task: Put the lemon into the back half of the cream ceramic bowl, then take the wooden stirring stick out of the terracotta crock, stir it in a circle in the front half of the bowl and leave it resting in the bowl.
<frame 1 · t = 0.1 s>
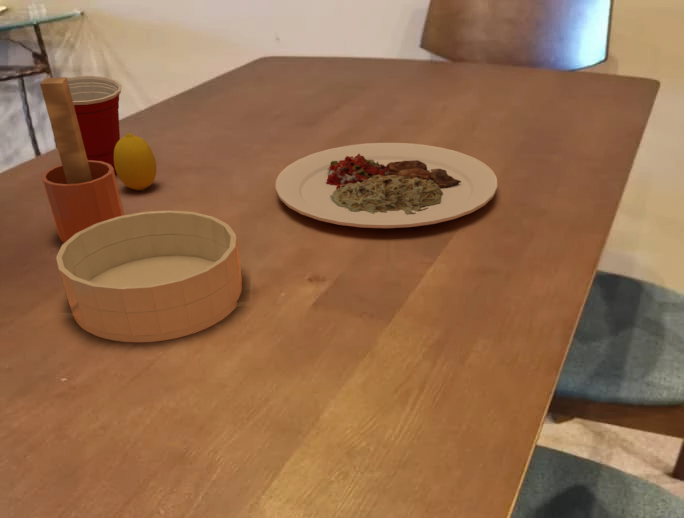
lemon: (141, 194, 102), on the table
wooden stirring stick: (93, 232, 91), point 1 cm above the table, touching crock
bowl: (158, 297, 79), on the table
plastic cup: (102, 173, 108), on the table
plated food: (385, 194, 100), on the table
crock: (94, 236, 91), on the table
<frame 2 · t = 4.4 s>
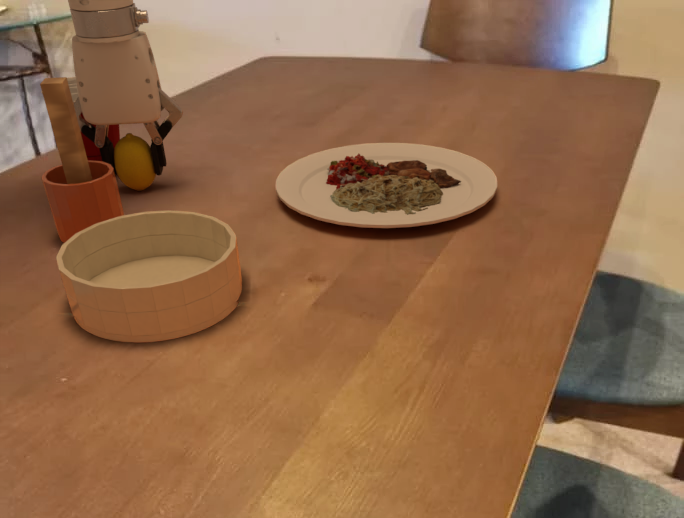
hand: (136, 171, 100), 3 cm above the table, tool pointing down, fingers closed on lemon, 5 cm apart
lemon: (141, 194, 102), on the table, touching gripper
everything else where it was.
when the fingers open (4 cm above the table, at t = 13.8 s): lemon stays where it is, resting on bowl.
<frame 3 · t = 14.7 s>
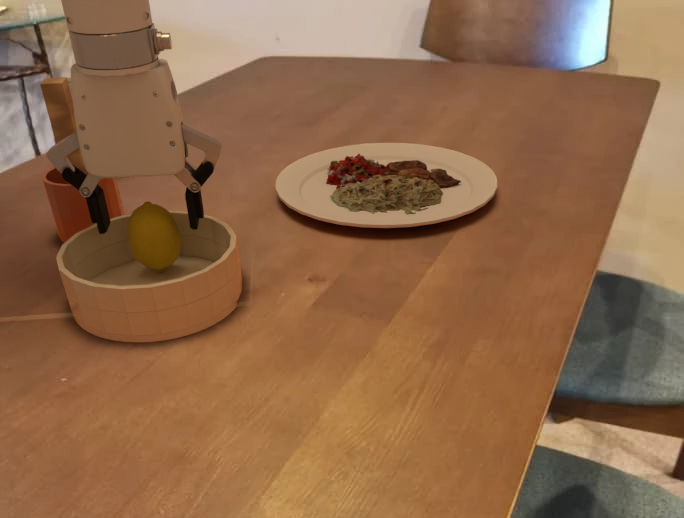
hand: (150, 226, 78), 6 cm above the table, tool pointing down, fingers open, 9 cm apart
lemon: (161, 273, 82), point 1 cm above the table, touching bowl
everything else where it was.
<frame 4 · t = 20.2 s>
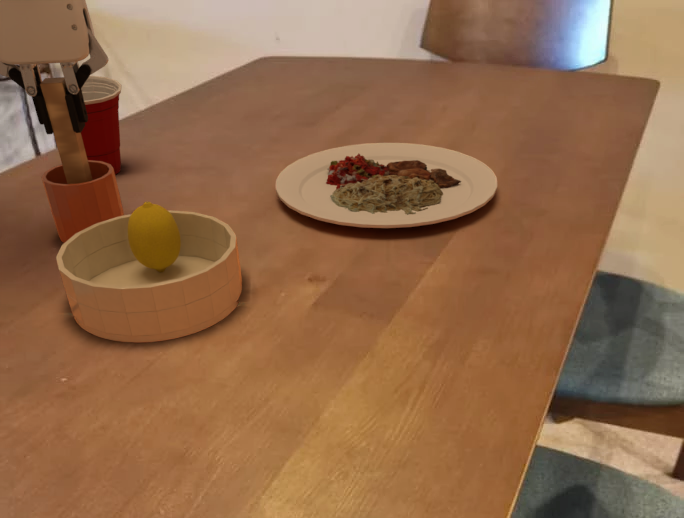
hand: (66, 128, 83), 13 cm above the table, tool pointing down, fingers closed on wooden stirring stick, 2 cm apart
wooden stirring stick: (93, 232, 91), point 1 cm above the table, touching crock, gripper
everything else where it was.
when the fingers open (13 cm above the table, at t = 32.0 s): wooden stirring stick stays where it is, resting on bowl.
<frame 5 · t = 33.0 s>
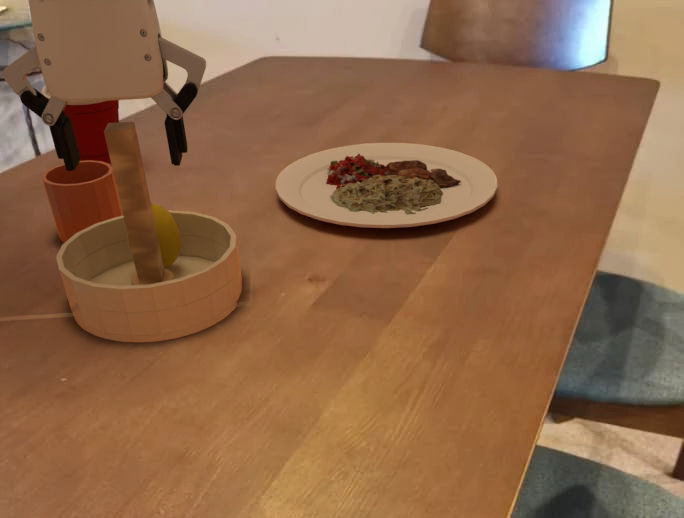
hand: (126, 163, 68), 15 cm above the table, tool pointing down, fingers open, 9 cm apart
wooden stirring stick: (156, 297, 77), point 1 cm above the table, touching bowl
everything else where it was.
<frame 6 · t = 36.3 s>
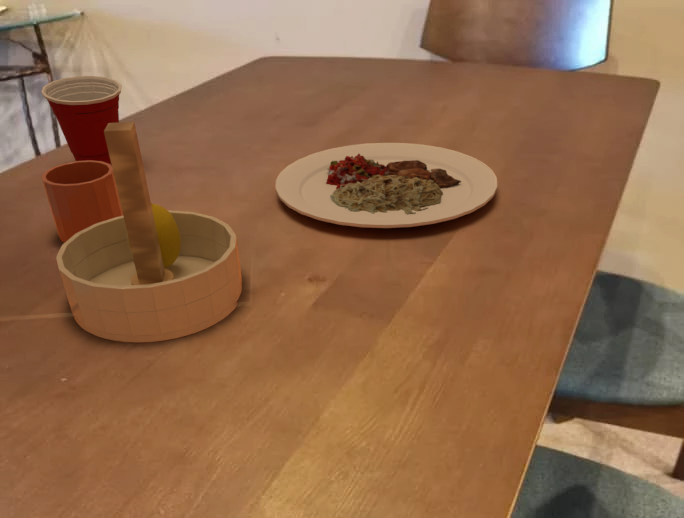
nothing on the table moved.
at the end: lemon inside the target area in the bowl (4.3 cm from its centre), point 0.6 cm above the bowl's base; wooden stirring stick inside the target area in the bowl (1.5 cm from its centre), point 0.8 cm above the bowl's base; the gripper is holding nothing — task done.
